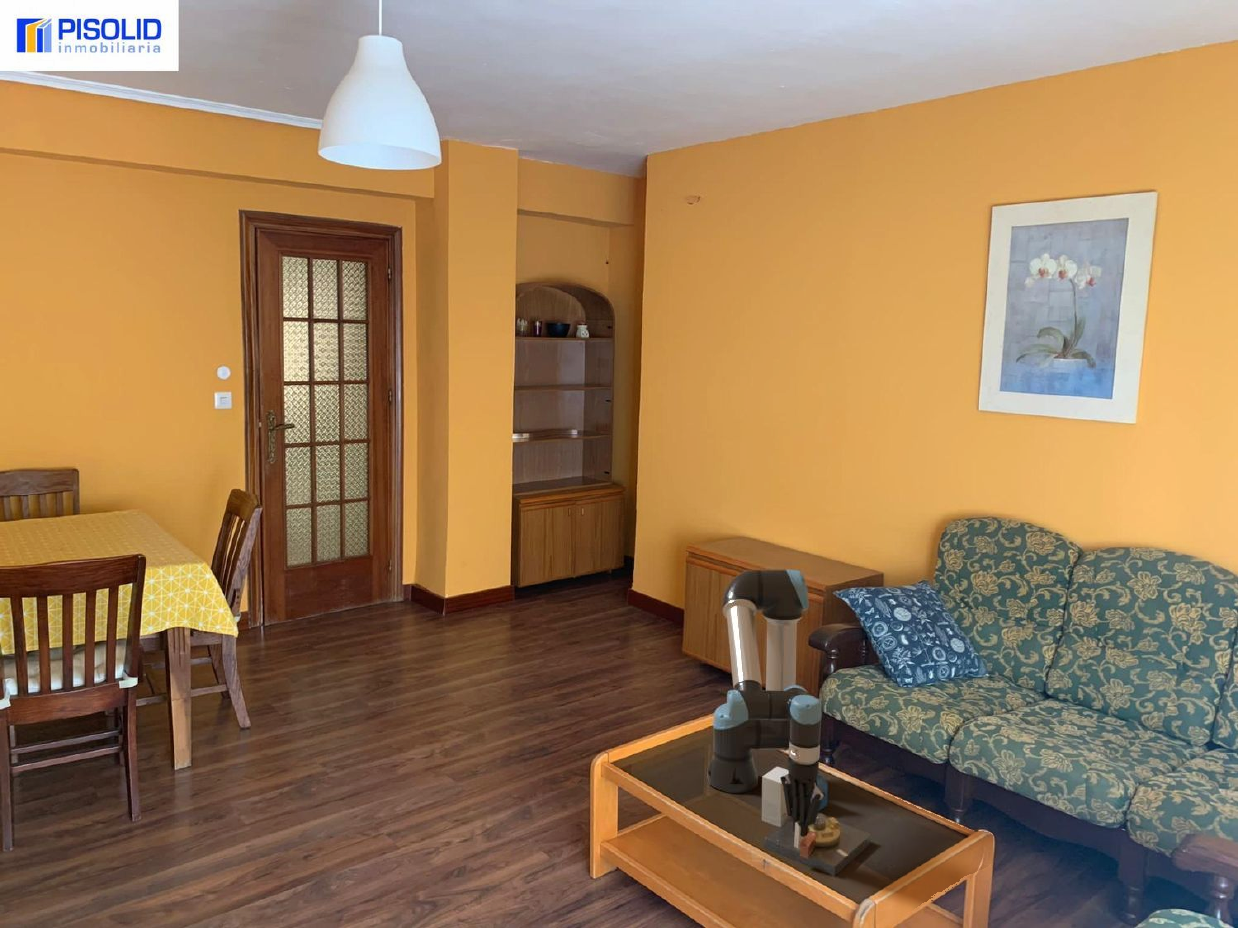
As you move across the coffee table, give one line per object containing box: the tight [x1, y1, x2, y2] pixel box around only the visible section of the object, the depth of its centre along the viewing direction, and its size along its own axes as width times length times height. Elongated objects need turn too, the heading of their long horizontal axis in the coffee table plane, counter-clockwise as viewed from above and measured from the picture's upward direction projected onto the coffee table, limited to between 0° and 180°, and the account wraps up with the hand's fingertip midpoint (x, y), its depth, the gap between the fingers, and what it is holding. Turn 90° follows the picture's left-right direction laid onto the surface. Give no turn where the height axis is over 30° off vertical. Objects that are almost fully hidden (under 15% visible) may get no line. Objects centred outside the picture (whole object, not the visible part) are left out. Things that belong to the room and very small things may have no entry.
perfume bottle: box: [811, 772, 829, 812], centre depth 263 cm, size 6×6×12 cm
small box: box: [761, 766, 792, 828], centre depth 256 cm, size 8×6×13 cm
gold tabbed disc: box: [800, 816, 840, 859], centre depth 240 cm, size 18×11×4 cm, turn 151°
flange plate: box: [764, 812, 872, 877], centre depth 243 cm, size 20×20×8 cm
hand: (799, 845), depth 236 cm, fingers closed
